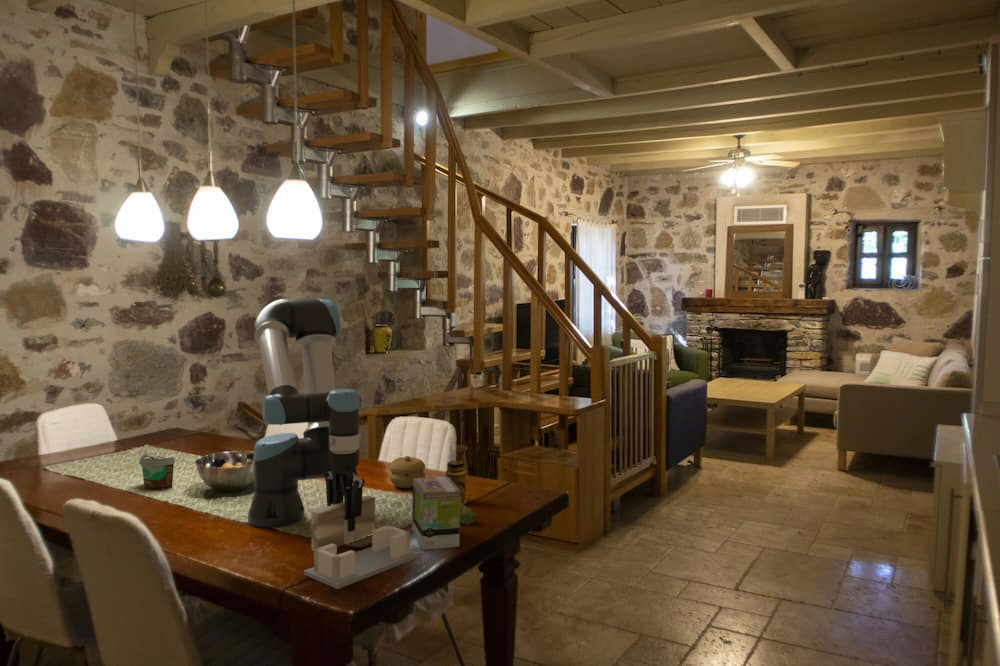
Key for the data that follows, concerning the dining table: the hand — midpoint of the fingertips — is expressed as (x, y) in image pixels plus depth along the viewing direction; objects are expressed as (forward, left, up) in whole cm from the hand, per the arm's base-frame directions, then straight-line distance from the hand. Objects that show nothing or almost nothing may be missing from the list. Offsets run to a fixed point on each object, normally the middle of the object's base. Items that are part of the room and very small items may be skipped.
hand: (344, 540), depth 190 cm
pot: (-25, +46, -1) cm, 52 cm away
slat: (0, 0, 0) cm, 0 cm away
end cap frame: (+16, -7, 0) cm, 17 cm away
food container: (-83, -9, -1) cm, 84 cm away
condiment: (-3, +44, -1) cm, 44 cm away
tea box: (+16, +17, -1) cm, 23 cm away
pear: (+11, +32, -1) cm, 34 cm away
